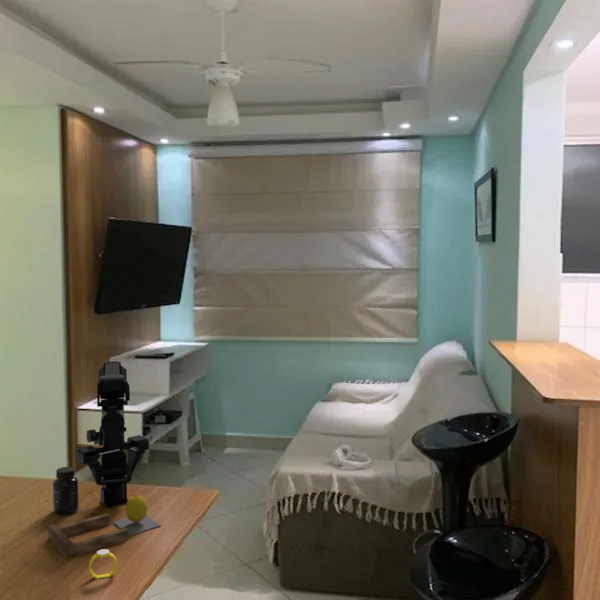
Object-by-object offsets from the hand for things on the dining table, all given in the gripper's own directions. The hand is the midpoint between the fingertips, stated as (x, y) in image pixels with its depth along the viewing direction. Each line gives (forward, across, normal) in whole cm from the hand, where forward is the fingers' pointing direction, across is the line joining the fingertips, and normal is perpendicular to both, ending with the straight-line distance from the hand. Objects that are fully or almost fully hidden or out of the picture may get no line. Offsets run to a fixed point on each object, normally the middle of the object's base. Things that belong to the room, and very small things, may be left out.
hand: (114, 479), depth 166 cm
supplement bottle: (+12, +7, -16) cm, 21 cm away
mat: (+12, -4, +5) cm, 13 cm away
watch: (+12, +15, +25) cm, 31 cm away
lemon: (+12, -4, +5) cm, 13 cm away
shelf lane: (+12, +9, +5) cm, 15 cm away
